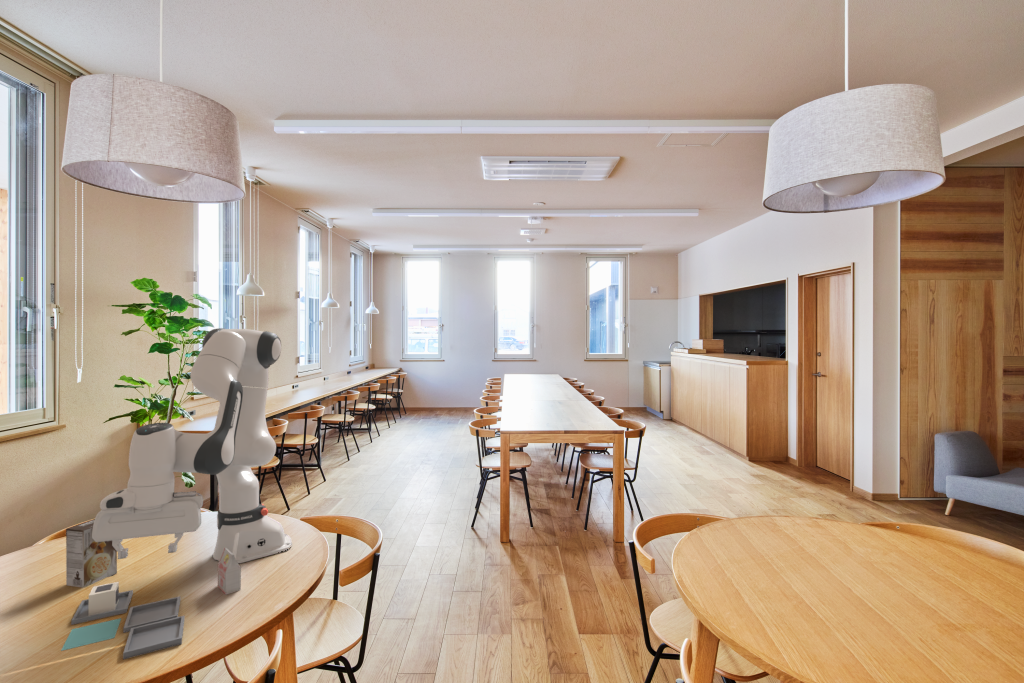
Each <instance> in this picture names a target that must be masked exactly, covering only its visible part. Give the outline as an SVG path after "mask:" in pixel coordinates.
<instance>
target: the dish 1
mask: <svg viewBox="0 0 1024 683" xmlns="http://www.w3.org/2000/svg"><path fill="white" fill-rule="evenodd" d="M133 594H134V589H130V590H126V591H122V592H121V591H120V592H119V601H118V604H117V606H116V609H115V610H112V611H107V612H103V613H98V614H94V615H89V616H88V611H89V598H88V599H82V600H81V602H80V604H79V605H78V607H77V609H76V612H75V613H74V615H73V616H72V618H71V623H70V624H71V626H73V625H76V624H82V623H86V622H91V621H95V620H99V619H104V618H108V617H114V616H117V615H122V614H126V613H127V612H128V610H129V606H130V603H131V600H132V597H133Z"/></svg>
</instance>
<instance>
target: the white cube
mask: <svg viewBox="0 0 1024 683" xmlns="http://www.w3.org/2000/svg"><path fill="white" fill-rule="evenodd" d="M119 583H120V582H119V581H115V582H110V583H105V584H99V585H95V586H93V587H92V588H91V591H90V593H89V594H88V599H89V611H88V616H89V615H94V614H98V613H103V612H107V611H112V610H115V609H116V606H117V604H118V601H119V593H120V592H119V589H120V587H119V585H120V584H119Z"/></svg>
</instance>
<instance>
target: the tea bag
mask: <svg viewBox="0 0 1024 683" xmlns="http://www.w3.org/2000/svg"><path fill="white" fill-rule="evenodd" d="M241 577H242V568H241V566H240V563H237V561H236V559H235V557H234V555H233V554H232V553H231V552H230V551H229V550H228V549H227V548H224V552H223V554H222V557H221V559H220V561H218V563H217V587H218V588H219V589H220V591H222V593H224V595H225V596H227V595H229V594H232V593H235V592H238V591H241V590H242V589H241V586H242V585H241V583H242V581H241V580H242V578H241Z"/></svg>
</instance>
